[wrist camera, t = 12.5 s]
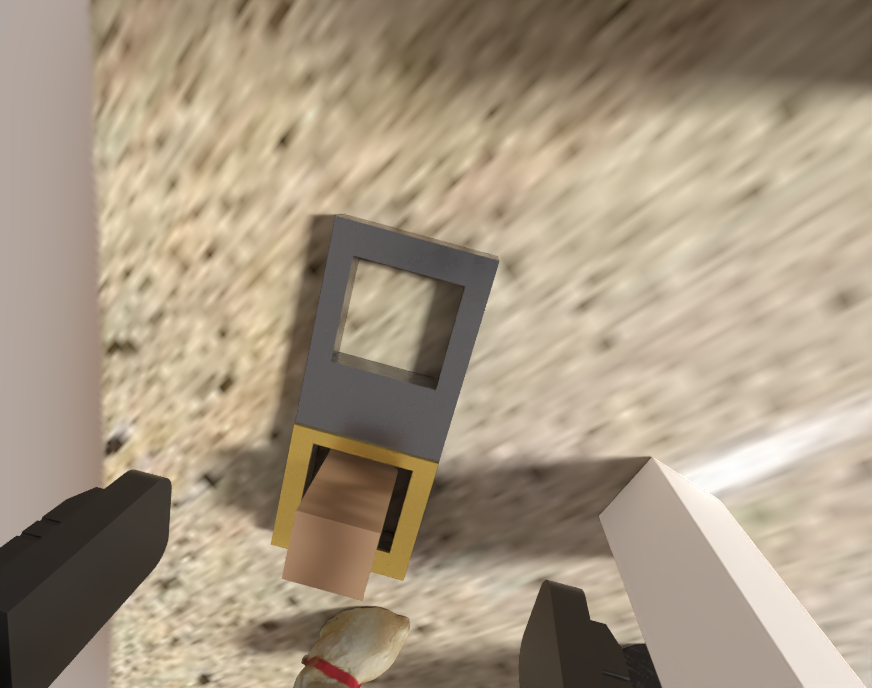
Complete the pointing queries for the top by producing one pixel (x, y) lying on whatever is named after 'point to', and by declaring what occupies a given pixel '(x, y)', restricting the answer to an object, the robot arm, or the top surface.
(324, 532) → the block
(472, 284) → the gray slotted board
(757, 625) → the milk
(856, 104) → the top surface
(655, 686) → the travel mug
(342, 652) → the chocolate bunny
